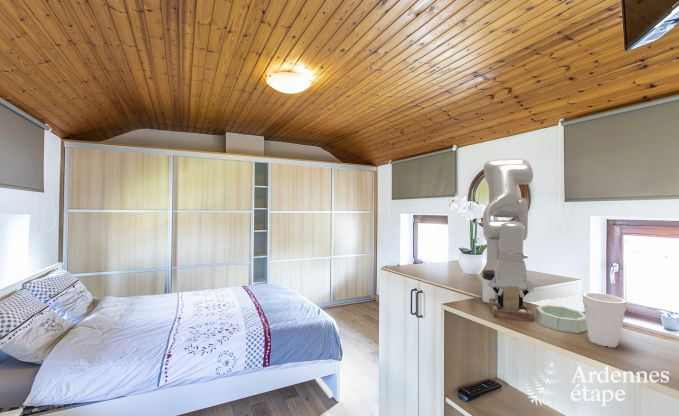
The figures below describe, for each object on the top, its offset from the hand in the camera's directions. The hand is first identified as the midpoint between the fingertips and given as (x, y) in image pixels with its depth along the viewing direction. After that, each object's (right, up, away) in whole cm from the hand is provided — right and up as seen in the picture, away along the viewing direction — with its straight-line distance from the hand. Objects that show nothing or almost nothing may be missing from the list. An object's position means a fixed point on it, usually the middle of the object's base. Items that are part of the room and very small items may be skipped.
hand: (509, 305), depth 110 cm
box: (0, -3, 0) cm, 3 cm away
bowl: (+11, -3, -10) cm, 15 cm away
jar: (0, -2, +12) cm, 12 cm away
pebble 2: (+4, -2, +3) cm, 6 cm away
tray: (0, -3, 0) cm, 3 cm away
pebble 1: (-2, -2, +5) cm, 6 cm away
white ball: (+2, -3, -5) cm, 6 cm away
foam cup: (+14, -3, -23) cm, 27 cm away
